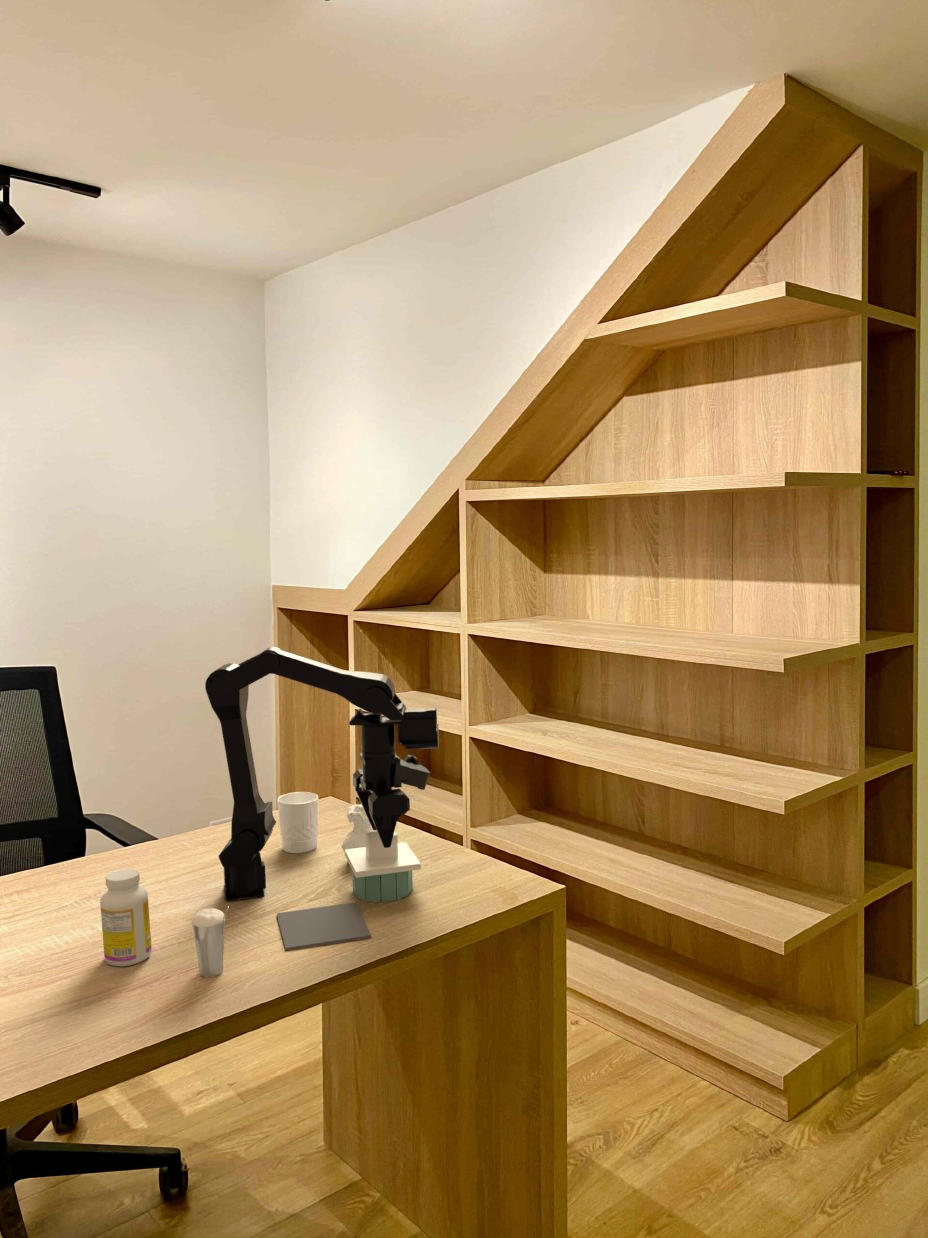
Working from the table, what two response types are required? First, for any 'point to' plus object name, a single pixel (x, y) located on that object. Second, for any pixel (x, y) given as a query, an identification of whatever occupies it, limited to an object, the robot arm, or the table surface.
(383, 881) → the bowl
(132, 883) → the supplement bottle
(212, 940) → the milkshake
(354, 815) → the bust
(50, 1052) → the table surface
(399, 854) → the lid
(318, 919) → the mat
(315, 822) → the white cup
